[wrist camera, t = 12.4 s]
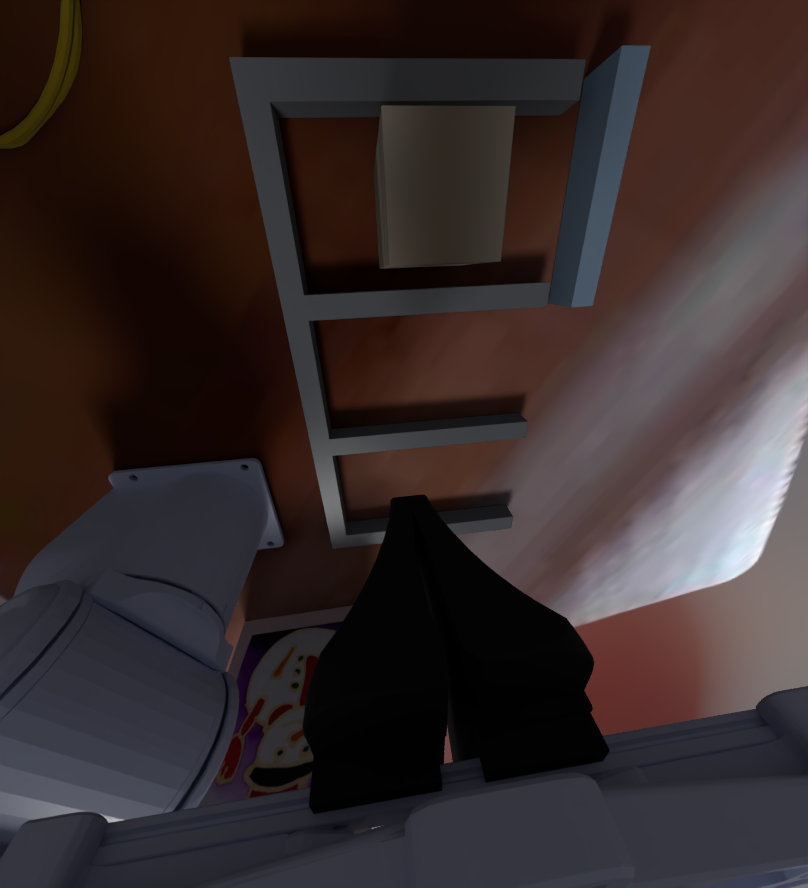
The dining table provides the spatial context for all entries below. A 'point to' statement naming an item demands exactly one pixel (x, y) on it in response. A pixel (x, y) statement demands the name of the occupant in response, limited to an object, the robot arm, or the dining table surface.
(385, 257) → the plug block
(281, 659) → the greeting card
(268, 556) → the dining table surface
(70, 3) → the olive curved band
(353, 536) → the divided bay frame
